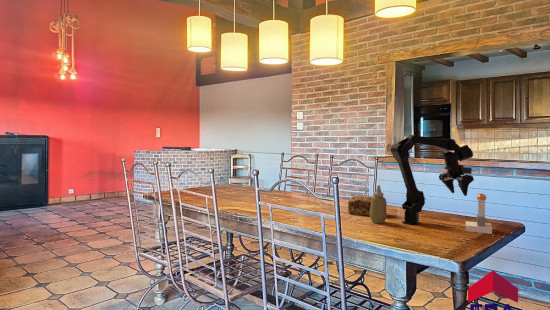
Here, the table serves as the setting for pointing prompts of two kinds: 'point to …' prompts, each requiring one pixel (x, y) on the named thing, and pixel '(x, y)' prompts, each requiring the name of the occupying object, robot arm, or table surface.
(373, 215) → the squeeze bottle
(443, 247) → the table surface
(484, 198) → the lever
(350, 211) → the bread
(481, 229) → the block
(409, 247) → the table surface
